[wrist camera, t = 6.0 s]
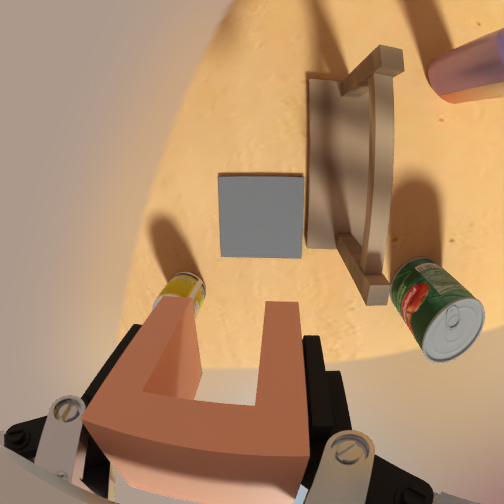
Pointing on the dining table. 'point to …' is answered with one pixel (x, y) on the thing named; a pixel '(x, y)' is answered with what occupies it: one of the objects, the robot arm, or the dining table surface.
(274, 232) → the mat
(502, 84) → the beverage can
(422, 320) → the canned tomato
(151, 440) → the c link
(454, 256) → the dining table surface
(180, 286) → the supplement bottle
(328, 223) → the stand
